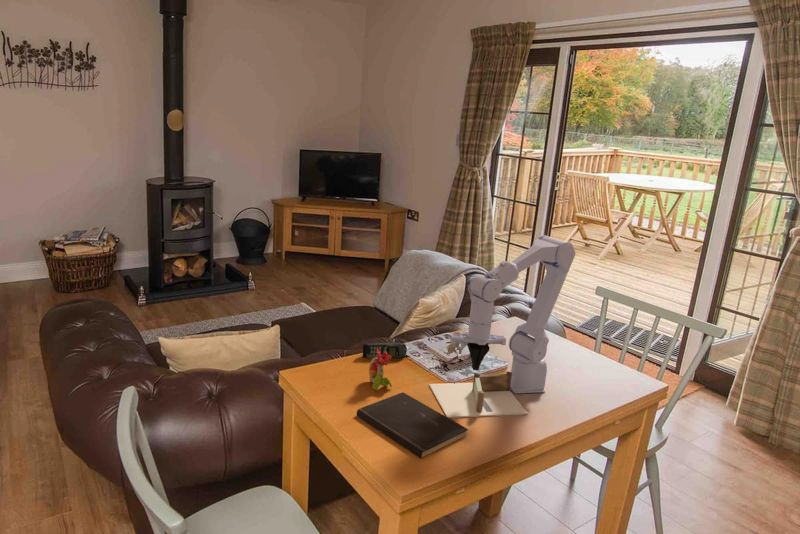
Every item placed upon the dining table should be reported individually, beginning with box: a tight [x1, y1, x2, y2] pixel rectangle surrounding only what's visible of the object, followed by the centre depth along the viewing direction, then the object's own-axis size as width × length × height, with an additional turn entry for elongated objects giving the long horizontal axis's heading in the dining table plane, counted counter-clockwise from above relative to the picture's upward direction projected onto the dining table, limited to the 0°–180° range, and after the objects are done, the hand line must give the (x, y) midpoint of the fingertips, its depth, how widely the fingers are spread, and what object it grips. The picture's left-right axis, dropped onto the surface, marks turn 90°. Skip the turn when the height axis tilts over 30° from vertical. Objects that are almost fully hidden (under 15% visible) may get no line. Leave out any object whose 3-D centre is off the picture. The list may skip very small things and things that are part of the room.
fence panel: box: [474, 377, 484, 412], centre depth 156 cm, size 11×2×5 cm, turn 178°
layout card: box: [428, 382, 529, 419], centre depth 159 cm, size 22×18×1 cm
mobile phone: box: [362, 341, 408, 360], centre depth 181 cm, size 5×3×15 cm
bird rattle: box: [368, 349, 393, 391], centre depth 161 cm, size 6×11×9 cm
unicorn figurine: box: [446, 328, 490, 355], centre depth 185 cm, size 7×20×13 cm, turn 138°
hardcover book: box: [356, 391, 469, 459], centre depth 143 cm, size 16×23×2 cm
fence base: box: [472, 371, 512, 392], centre depth 163 cm, size 11×2×5 cm, turn 102°
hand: (475, 368), depth 156 cm, fingers closed
